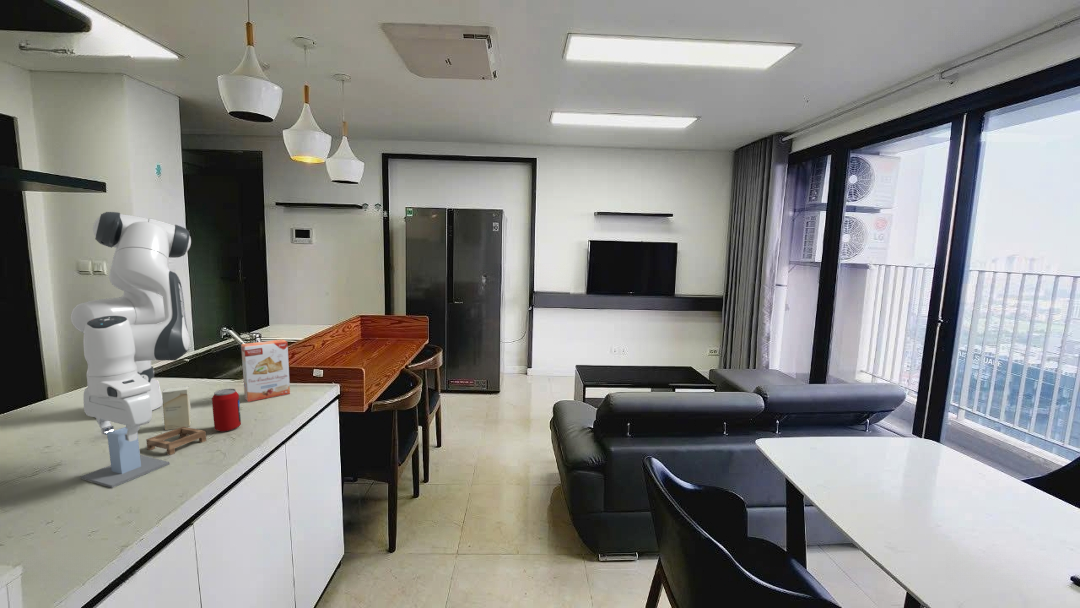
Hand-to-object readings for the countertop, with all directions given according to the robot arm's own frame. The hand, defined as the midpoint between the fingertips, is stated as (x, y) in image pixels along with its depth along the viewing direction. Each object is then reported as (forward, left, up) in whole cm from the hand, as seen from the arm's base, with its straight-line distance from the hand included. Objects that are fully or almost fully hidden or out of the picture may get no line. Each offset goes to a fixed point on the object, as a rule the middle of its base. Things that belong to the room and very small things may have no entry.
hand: (119, 436), depth 108 cm
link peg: (+1, 0, -9) cm, 9 cm away
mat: (+1, 0, -9) cm, 9 cm away
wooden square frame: (-3, +14, -9) cm, 17 cm away
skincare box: (-17, +23, -9) cm, 31 cm away
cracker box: (-16, +53, -9) cm, 57 cm away
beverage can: (-1, +27, -9) cm, 29 cm away
